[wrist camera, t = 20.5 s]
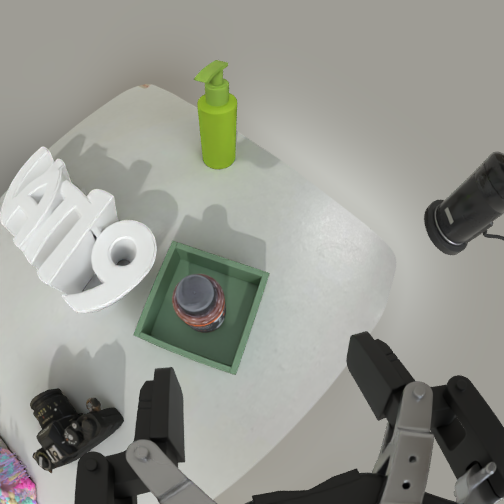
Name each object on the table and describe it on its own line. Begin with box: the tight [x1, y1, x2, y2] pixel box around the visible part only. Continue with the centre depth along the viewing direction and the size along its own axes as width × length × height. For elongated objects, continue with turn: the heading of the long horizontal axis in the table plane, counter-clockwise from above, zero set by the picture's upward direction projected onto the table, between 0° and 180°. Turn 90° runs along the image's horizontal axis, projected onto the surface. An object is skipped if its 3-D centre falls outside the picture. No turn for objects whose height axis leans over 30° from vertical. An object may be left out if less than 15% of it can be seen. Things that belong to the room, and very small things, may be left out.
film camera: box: [30, 389, 124, 473], centre depth 26 cm, size 18×12×10 cm
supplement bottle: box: [172, 274, 226, 333], centre depth 34 cm, size 6×6×11 cm
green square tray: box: [134, 241, 269, 375], centre depth 37 cm, size 14×14×5 cm
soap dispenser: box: [194, 60, 237, 169], centre depth 40 cm, size 6×7×20 cm
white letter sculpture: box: [0, 146, 157, 313], centre depth 37 cm, size 35×16×10 cm, turn 53°
